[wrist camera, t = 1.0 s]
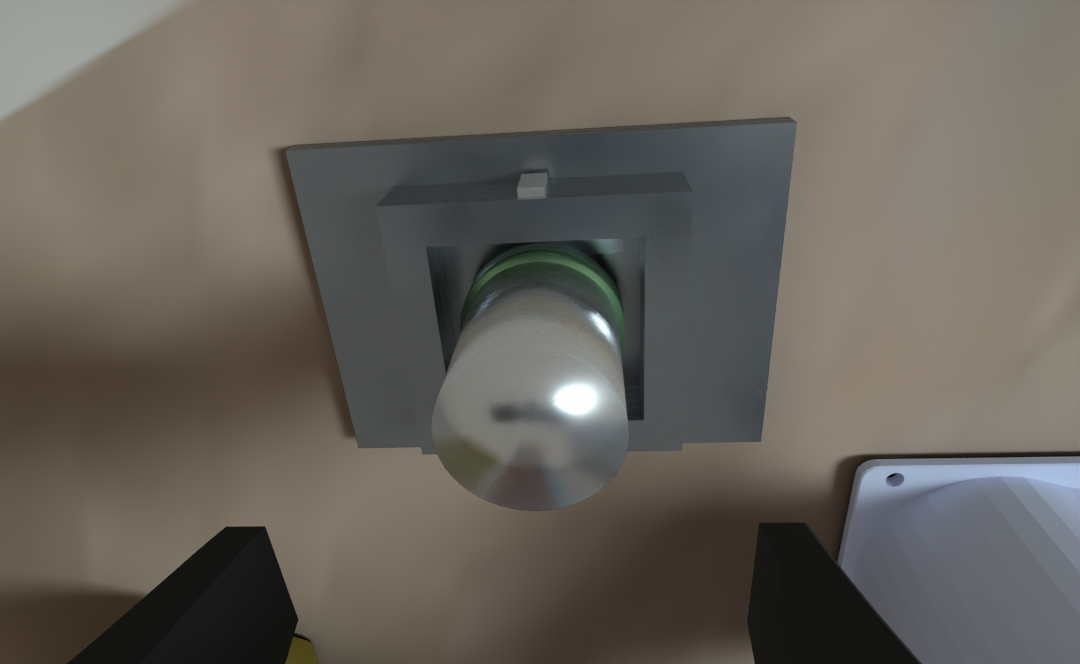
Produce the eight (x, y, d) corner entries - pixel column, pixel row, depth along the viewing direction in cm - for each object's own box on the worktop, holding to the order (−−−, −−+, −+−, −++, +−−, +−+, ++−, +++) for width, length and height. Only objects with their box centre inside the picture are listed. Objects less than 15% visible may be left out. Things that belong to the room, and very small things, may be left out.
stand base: (789, 117, 15) (818, 137, 13) (756, 428, 20) (774, 478, 18) (294, 145, 16) (256, 167, 15) (364, 435, 21) (341, 483, 19)
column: (622, 232, 16) (636, 340, 12) (622, 373, 18) (636, 515, 13) (458, 239, 17) (407, 347, 12) (477, 376, 19) (439, 517, 14)
